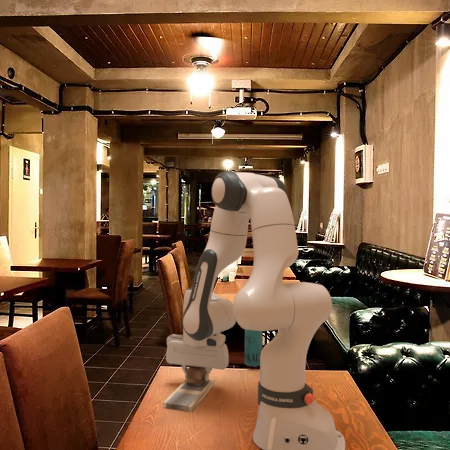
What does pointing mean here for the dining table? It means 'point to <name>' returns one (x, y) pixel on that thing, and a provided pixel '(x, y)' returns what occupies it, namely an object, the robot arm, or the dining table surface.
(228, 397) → the dining table surface
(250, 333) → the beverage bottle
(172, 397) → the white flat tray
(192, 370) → the block
